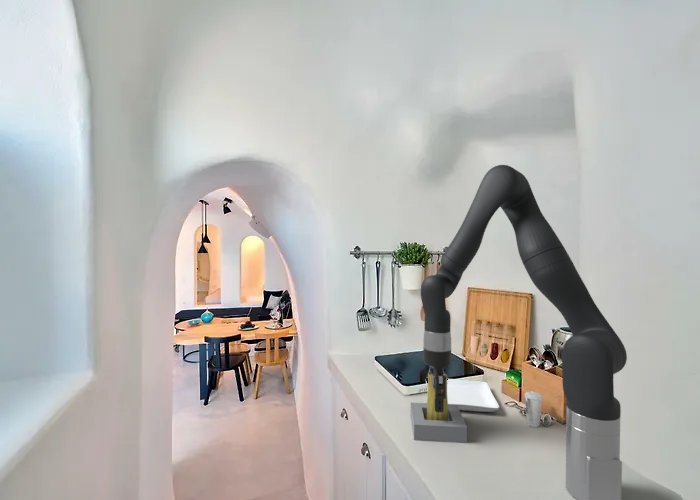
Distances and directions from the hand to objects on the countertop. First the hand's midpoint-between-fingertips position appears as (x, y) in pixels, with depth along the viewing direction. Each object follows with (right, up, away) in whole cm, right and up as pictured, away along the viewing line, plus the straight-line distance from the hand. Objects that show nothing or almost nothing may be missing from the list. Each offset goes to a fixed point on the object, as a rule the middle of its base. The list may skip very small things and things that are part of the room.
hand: (436, 404), depth 102 cm
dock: (0, -7, 0) cm, 7 cm away
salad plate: (+12, -7, +19) cm, 23 cm away
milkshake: (+28, -7, +2) cm, 29 cm away
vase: (0, -6, 0) cm, 6 cm away
